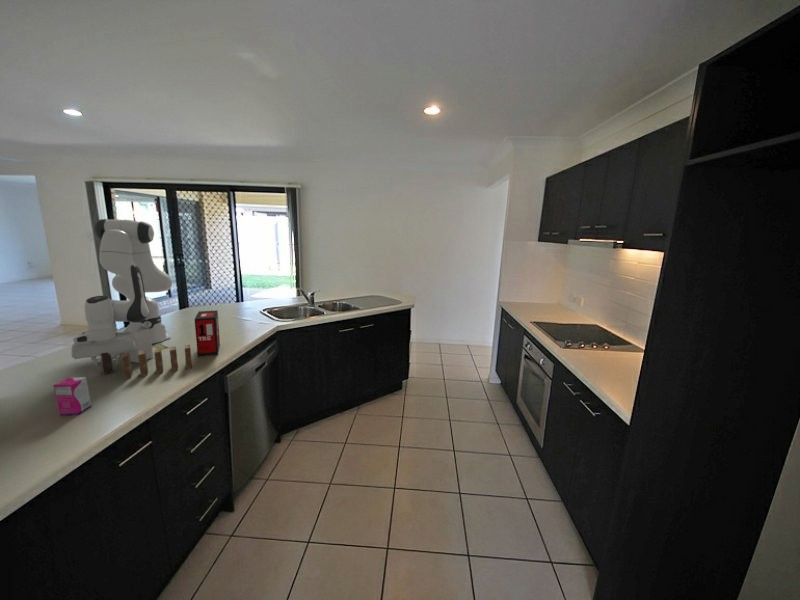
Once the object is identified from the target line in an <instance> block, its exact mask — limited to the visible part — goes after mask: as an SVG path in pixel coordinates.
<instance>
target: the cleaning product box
mask: <svg viewBox="0 0 800 600" xmlns="http://www.w3.org/2000/svg"><path fill="white" fill-rule="evenodd" d="M218 312H219V311H218V310H217V309H216V310H202V311H201V310H200V311H198V312H197V314H196V315H195V317H194V327H195V328H194V329H195V338H196V339H195V340H196V351H197V357H198V358H201V357H209V356H218V355H219V350H220V346H221V342H220V340H221V339H220V327H219V326H220V325H219V313H218Z"/></svg>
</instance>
